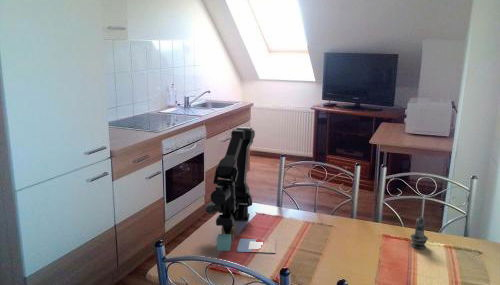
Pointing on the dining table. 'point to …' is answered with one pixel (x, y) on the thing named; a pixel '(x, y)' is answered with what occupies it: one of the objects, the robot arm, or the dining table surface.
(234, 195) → the robot arm
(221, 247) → the teal cube
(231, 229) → the walnut cube
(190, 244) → the dining table surface
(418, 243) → the dark grey flanged nozzle
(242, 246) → the blueprint mat
